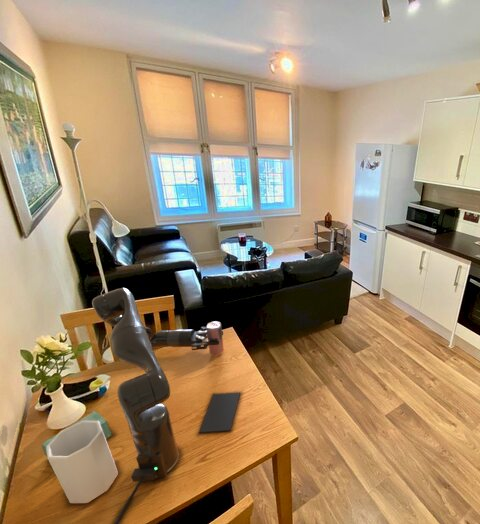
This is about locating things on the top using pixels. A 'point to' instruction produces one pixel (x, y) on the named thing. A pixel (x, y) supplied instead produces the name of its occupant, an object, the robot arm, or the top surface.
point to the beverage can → (215, 337)
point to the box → (91, 417)
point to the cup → (82, 461)
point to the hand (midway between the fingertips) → (220, 337)
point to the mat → (220, 413)
